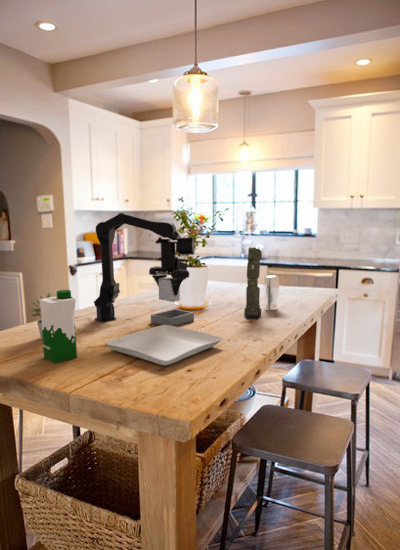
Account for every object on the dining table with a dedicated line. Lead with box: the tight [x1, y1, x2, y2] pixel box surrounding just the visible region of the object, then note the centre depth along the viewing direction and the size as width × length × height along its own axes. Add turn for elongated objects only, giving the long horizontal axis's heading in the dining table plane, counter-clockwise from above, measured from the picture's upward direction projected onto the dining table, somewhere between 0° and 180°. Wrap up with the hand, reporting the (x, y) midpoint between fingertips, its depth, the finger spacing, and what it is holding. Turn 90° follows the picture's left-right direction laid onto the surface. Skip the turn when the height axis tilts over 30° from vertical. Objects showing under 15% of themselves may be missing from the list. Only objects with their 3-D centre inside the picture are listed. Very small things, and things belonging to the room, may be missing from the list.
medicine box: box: [158, 276, 181, 303], centre depth 160 cm, size 8×4×9 cm, turn 45°
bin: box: [150, 308, 195, 327], centre depth 161 cm, size 14×11×4 cm
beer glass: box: [263, 274, 280, 311], centre depth 183 cm, size 7×7×15 cm
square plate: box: [104, 325, 224, 366], centre depth 128 cm, size 27×27×4 cm
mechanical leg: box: [243, 247, 262, 320], centre depth 171 cm, size 14×7×30 cm, turn 168°
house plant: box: [28, 292, 57, 341], centre depth 141 cm, size 14×14×16 cm
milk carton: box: [38, 289, 78, 364], centre depth 120 cm, size 9×9×20 cm
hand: (169, 294), depth 161 cm, fingers closed on medicine box, 8 cm apart
